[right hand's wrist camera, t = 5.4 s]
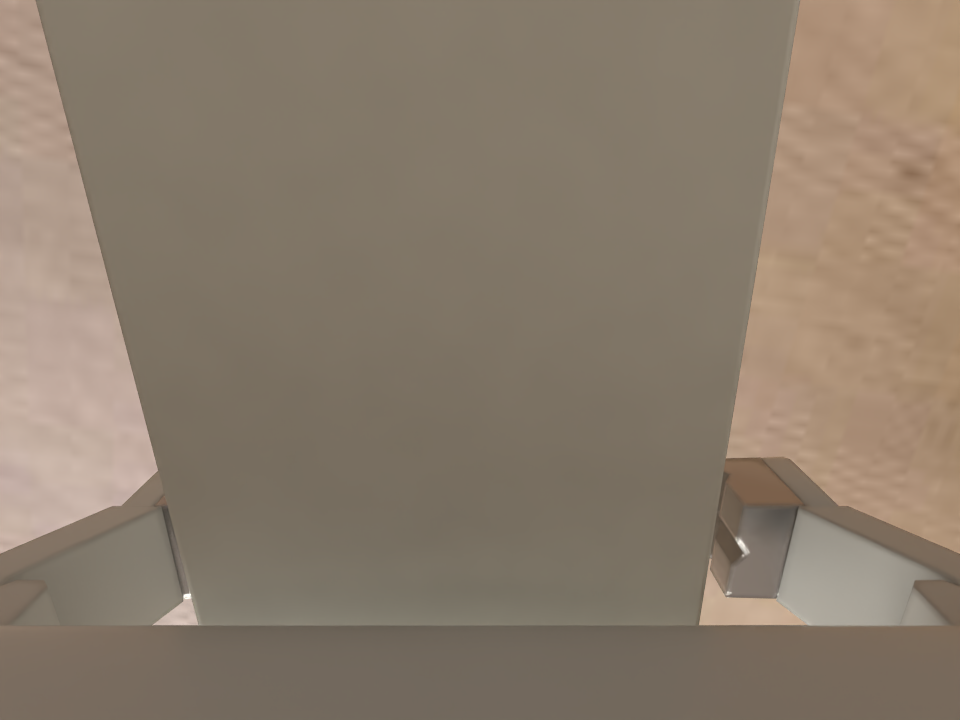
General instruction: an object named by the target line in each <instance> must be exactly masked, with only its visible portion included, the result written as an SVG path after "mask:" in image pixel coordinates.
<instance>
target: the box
mask: <svg viewBox="0 0 960 720" xmlns="http://www.w3.org/2000/svg"><path fill="white" fill-rule="evenodd" d="M36 3H37V7H38V11H39V15H40V19H41V23H42V26H43V30H44V34H45V38H46V42H47V46H48V49H49V53H50V57H51V61H52V65H53V69H54V72H55V76H56V80H57V84H58V88H59V92H60V95H61V99H62V103H63V107H64V111H65V115H66V118H67V122H68V126H69V130H70V134H71V138H72V141H73V145H74V149H75V153H76V157H77V161H78V165H79V168H80V172H81V176H82V180H83V184H84V188H85V191H86V195H87V199H88V203H89V207H90V211H91V214H92V218H93V222H94V226H95V230H96V234H97V237H98V241H99V245H100V249H101V253H102V257H103V260H104V264H105V268H106V272H107V276H108V280H109V283H110V287H111V291H112V295H113V299H114V303H115V306H116V310H117V314H118V318H119V322H120V326H121V329H122V333H123V337H124V341H125V345H126V349H127V352H128V356H129V360H130V364H131V368H132V372H133V375H134V379H135V383H136V387H137V391H138V395H139V398H140V402H141V406H142V410H143V414H144V418H145V421H146V425H147V429H148V433H149V437H150V441H151V444H152V448H153V452H154V456H155V460H156V464H157V467H158V471H159V475H160V479H161V483H162V487H163V490H164V494H165V498H166V502H167V506H168V510H169V513H170V517H171V521H172V525H173V529H174V533H175V536H176V540H177V544H178V548H179V552H180V556H181V560H182V563H183V567H184V571H185V575H186V579H187V583H188V586H189V590H190V594H191V598H192V602H193V606H194V609H195V613H196V617H197V621H198V625H699V620H700V614H701V608H702V601H703V595H704V589H705V583H706V577H707V571H708V564H709V558H710V552H711V546H712V540H713V534H714V528H715V521H716V515H717V509H718V503H719V497H720V491H721V484H722V478H723V472H724V466H725V460H726V454H727V447H728V441H729V435H730V429H731V423H732V417H733V410H734V404H735V398H736V392H737V386H738V380H739V374H740V367H741V361H742V355H743V349H744V343H745V337H746V330H747V324H748V318H749V312H750V306H751V300H752V293H753V287H754V281H755V275H756V269H757V263H758V257H759V250H760V244H761V238H762V232H763V226H764V220H765V213H766V207H767V201H768V195H769V189H770V183H771V176H772V170H773V164H774V158H775V152H776V146H777V139H778V133H779V127H780V121H781V115H782V109H783V103H784V96H785V90H786V84H787V78H788V72H789V66H790V59H791V53H792V47H793V41H794V35H795V29H796V22H797V16H798V10H799V4H800V0H36Z"/></svg>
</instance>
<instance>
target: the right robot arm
mask: <svg viewBox="0 0 960 720" xmlns="http://www.w3.org/2000/svg"><path fill="white" fill-rule="evenodd" d="M710 558H711V559H712V560H711V566H710V570H711V572H712V574H713V575H714V577H715V579H716V581H717V582H718V584H719V586H720V588H721V589H722V591H723V593H724V595H725V596H726V597H736V598H773V599H777V602H779V603H780V604H781V605H783V606H784V607H785V608H787V609H788V610H789V611H790V612H792V613H793V614H794V615H796V616H797V617H798V618H800V619H801V620H802V621H803V622H805V623H806V624H807V625H153V624H154V623H155V622H157V621H158V620H159V619H161V618H162V617H163V616H165V615H166V614H167V613H168V612H170V611H171V610H172V609H174V608H175V607H176V606H178V605H179V604H180V603H182V602H183V599H187V598H191V594H190V590H189V586H188V583H187V579H186V575H185V571H184V567H183V563H182V560H181V556H180V552H179V548H178V544H177V540H176V536H175V533H174V529H173V525H172V521H171V517H170V513H169V510H168V506H167V502H166V498H165V494H164V490H163V487H162V483H161V479H160V475H159V471H157V472H156V473H155V474H154V475H153V476H152V477H151V478H150V479H149V480H148V481H147V482H146V483H145V484H144V485H143V486H142V487H141V488H140V489H139V490H138V491H137V492H135V493H134V494H133V495H132V496H131V497H130V498H129V499H128V500H127V501H126V502H125V503H124V504H123V505H122V506H112V507H109V508H107V509H105V510H102V511H100V512H98V513H95V514H93V515H91V516H88V517H86V518H83V519H81V520H79V521H76V522H74V523H72V524H69V525H67V526H65V527H62V528H60V529H58V530H55V531H53V532H51V533H48V534H46V535H43V536H41V537H39V538H36V539H34V540H32V541H29V542H27V543H25V544H22V545H20V546H18V547H15V548H13V549H11V550H8V551H6V552H3V553H1V554H0V720H960V554H959V553H956V552H954V551H952V550H949V549H947V548H944V547H942V546H940V545H937V544H935V543H933V542H930V541H928V540H926V539H923V538H921V537H919V536H916V535H914V534H912V533H909V532H907V531H905V530H902V529H900V528H898V527H895V526H893V525H891V524H888V523H886V522H883V521H881V520H879V519H876V518H874V517H872V516H869V515H867V514H865V513H862V512H860V511H858V510H855V509H853V508H851V507H848V506H838V505H837V504H836V503H835V502H834V501H833V500H832V499H831V498H830V497H829V496H828V495H827V494H826V493H825V492H824V491H823V490H821V489H820V488H819V487H818V486H817V485H816V484H815V483H814V482H813V481H812V480H811V479H810V478H809V477H808V476H807V475H806V474H805V473H804V472H803V471H802V470H801V469H800V468H799V467H798V466H796V465H795V464H794V463H793V462H792V461H791V460H790V459H788V458H785V457H767V458H726V460H725V466H724V472H723V478H722V484H721V491H720V497H719V503H718V509H717V515H716V521H715V528H714V534H713V540H712V546H711V552H710Z"/></svg>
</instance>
